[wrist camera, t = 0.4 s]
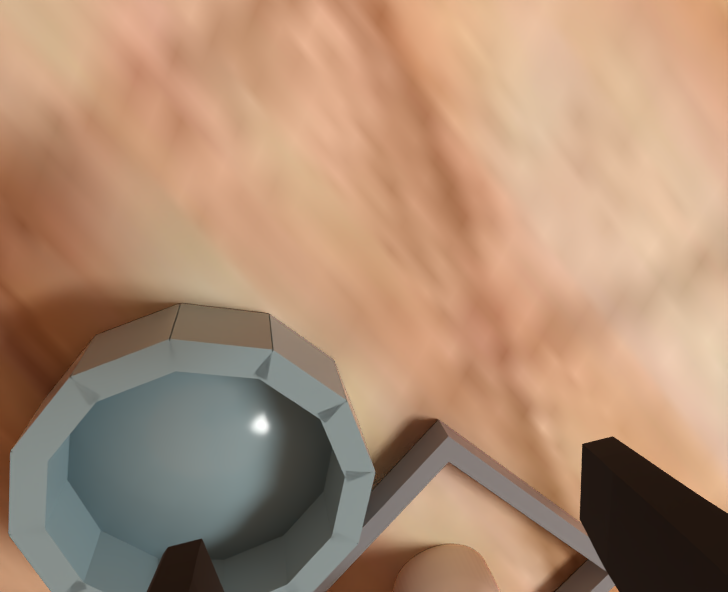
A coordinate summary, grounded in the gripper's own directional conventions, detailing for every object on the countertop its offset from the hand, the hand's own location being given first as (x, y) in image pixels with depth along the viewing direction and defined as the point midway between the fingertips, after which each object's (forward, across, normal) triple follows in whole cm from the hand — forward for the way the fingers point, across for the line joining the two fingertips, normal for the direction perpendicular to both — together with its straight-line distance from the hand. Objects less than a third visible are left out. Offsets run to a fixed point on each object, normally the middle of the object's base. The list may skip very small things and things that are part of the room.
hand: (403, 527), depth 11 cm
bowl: (+10, +6, +5) cm, 12 cm away
